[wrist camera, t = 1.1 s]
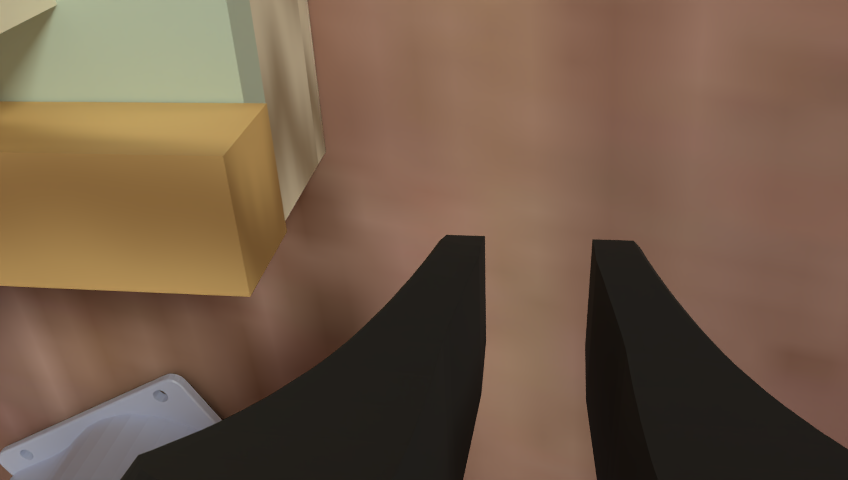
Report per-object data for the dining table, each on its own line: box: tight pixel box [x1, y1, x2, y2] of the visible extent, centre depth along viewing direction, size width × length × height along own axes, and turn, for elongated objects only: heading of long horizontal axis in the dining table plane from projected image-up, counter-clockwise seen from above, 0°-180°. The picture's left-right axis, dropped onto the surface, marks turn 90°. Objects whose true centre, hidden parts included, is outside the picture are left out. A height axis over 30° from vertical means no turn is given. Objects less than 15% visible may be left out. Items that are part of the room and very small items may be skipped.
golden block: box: [0, 101, 287, 297], centre depth 17 cm, size 3×11×2 cm, turn 93°
